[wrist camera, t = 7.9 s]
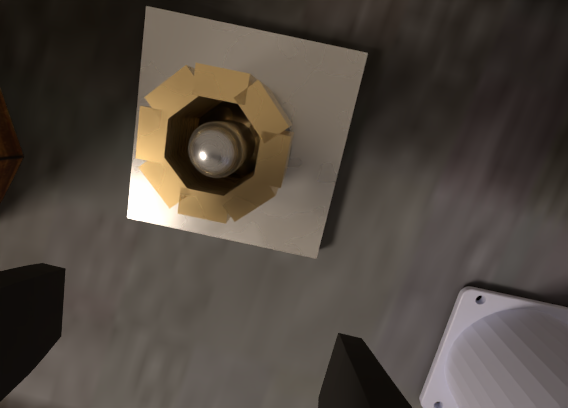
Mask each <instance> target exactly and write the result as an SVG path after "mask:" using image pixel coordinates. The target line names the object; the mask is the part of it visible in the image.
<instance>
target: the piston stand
mask: <svg viewBox="0 0 568 408" xmlns="http://www.w3.org/2000/svg"><path fill="white" fill-rule="evenodd" d="M367 55H368V53H366V52H361V51H356V50H352V49H347V48H342V47H337V46H333V45H328V44H323V43H319V42H314V41H309V40H304V39H300V38H295V37H290V36H286V35H281V34H276V33H272V32H267V31H262V30H257V29H253V28H248V27H243V26H239V25H234V24H229V23H224V22H220V21H215V20H210V19H206V18H201V17H196V16H191V15H187V14H182V13H177V12H173V11H168V10H163V9H158V8H154V7H149V6H146V12H145V23H144V35H143V46H142V57H141V68H140V79H139V90H138V101H137V113H136V124H135V135H134V146H133V157H132V168H131V179H130V191H129V202H128V213H127V218H130V219H134V220H139V221H144V222H148V223H153V224H158V225H162V226H167V227H172V228H176V229H181V230H186V231H190V232H195V233H199V234H204V235H209V236H213V237H218V238H223V239H227V240H232V241H237V242H241V243H246V244H251V245H255V246H260V247H264V248H269V249H274V250H278V251H283V252H288V253H292V254H297V255H302V256H306V257H311V258H316V259H317V255H318V251H319V247H320V243H321V239H322V235H323V231H324V227H325V223H326V219H327V215H328V211H329V207H330V203H331V199H332V195H333V191H334V187H335V183H336V179H337V175H338V171H339V167H340V163H341V159H342V155H343V151H344V147H345V143H346V139H347V135H348V131H349V127H350V123H351V119H352V115H353V111H354V107H355V103H356V99H357V95H358V91H359V87H360V83H361V79H362V75H363V71H364V67H365V63H366V59H367ZM196 63H200V64H205V65H210V66H215V67H220V68H225V69H230V70H235V71H239V72H244V73H249V74H251V75H252V76H254V77H255V78H256V79H257V80H260V81H261V82H262V83H263V84H265V85H266V86H267V87H268V88H269V89H270V90H271V92H272V93H273V95H274V96H275V98H276V99H277V101H278V103H279V104H280V106H281V107H282V109H283V110H284V112H285V113H286V115H287V117H288V118H289V120H290V121H291V123H292V124H293V125H291V126H290V127H289V128H287V129H286V131H291V132H294V135H293V140H292V145H291V150H290V155H289V160H288V165H287V170H286V174H285V177H284V180H283V183H282V186H281V188H278V191H277V194H276V196H274V197H273V198H271V199H270V200H268V201H267V202H265V203H264V204H262V205H260V206H259V207H257V208H256V209H254V210H253V211H251V212H250V213H248V214H247V215H245V216H243V217H242V218H240V219H239V220H237V221H236V222H234V221H233V219H232V218H231V217H230V219H229V220H228V222H227V223H226V224H225V223H220V222H215V221H210V220H206V219H201V218H196V217H191V216H186V215H181V214H177V213H178V204H179V203H177V204H176V205H174V206H173V207H171V208H170V209H169V207H168V206H167V205H166V203H165V202H164V201H163V199H162V198H161V197H160V195H159V194H158V193H157V191H156V190H155V189H154V187H153V186H152V185H151V184H150V182H149V181H148V180H147V178H146V177H145V176H144V174H143V173H142V172H141V170H140V169H139V168H138V167H139V166H141V165H142V164H143V163H145V162H146V161H147V160H142V159H137V158H136V146H137V134H138V122H139V110H140V106H150V104H149V103H148V102H147V100H146V99H145V98H144V97H145V96H146V95H148V94H149V93H150V92H152V91H153V90H154V89H156V88H157V87H158V86H159V85H161V84H162V83H163V82H165V81H166V80H167V79H168V78H170V77H171V76H172V75H174V74H175V73H176V72H177V71H179V70H180V69H181V68H183V67H184V66H185V65H188V66H190V67H192V68H194V69H195V64H196ZM260 139H261V137H260V136H259V134H258V133H257V131H256V130H255V129H254V127H253V126H252V124H251V123H250V121H249V120H248V118H247V117H246V115H245V114H244V112H243V111H242V109H241V108H240V106H239V105H238V104H236V103H231V102H227V101H222V102H221V103H219V104H218V105H217V106H215V107H214V108H213V109H211V110H210V111H209V112H207V113H206V114H204V115H203V116H202V117H200V118H199V123H198V128H197V129H196V130H195V131H194V132H193V134H192V135H191V137H190V140H189V144H188V153H189V158H190V160H191V162H192V164H193V165H194V167H195V168H196V169H197V170H198V171H199V172H201V173H202V174H204V175H206V176H208V177H212V178H222V177H226V176H231V177H235V178H240V179H242V178H243V177H245V176H246V175H248V174H249V173H251V172H252V171H254V170H255V167H256V162H257V156H258V150H259V145H260Z"/></svg>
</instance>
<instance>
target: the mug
mask: <svg viewBox="0 0 568 408" xmlns="http://www.w3.org/2000/svg"><path fill="white" fill-rule="evenodd" d="M23 158H24V156H23V153H22V150H21V147H20V144H19V141H18V138H17V135H16V132H15V129H14V126H13V123H12V121H11V118H10V115H9V112H8V109H7V106H6V103H5V100H4V97H3V94H2V91H1V88H0V203H1V201H2V199H3V197H4V195H5V193H6V191H7V189H8V187H9V185H10V183H11V181H12V180H13V178H14V176H15V174H16V172H17V170H18V168H19V166H20V164H21V162H22V160H23Z"/></svg>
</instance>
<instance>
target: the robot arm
mask: <svg viewBox="0 0 568 408" xmlns="http://www.w3.org/2000/svg"><path fill="white" fill-rule="evenodd" d="M64 283H65V268H61V267H57V266H52V265H48V264H44V263H40V264H34V265H28V266H23V267H18V268H13V269H8V270H4V271H0V401H1V400H2V399H4V398H5V397H6V396H7V395H8V394H9V393H10V392H11V391H12V390H13V389H14V388H15V387H16V386H17V385H18V384H19V383H20V382H21V381H22V380H23V379H24V378H25V377H26V376H27V375H29V374H30V373H31V372H32V370H33V369H34V368H35V367H36V366H37V365H38V363H39V362H40V361H41V360H42V359H43V358H44V357H45V355H46V354H47V353H48V352H49V351H50V349H51V348H52V347H53V346H54V344H55V343H56V342H57V341H58V339H59V338H60V337H61V331H62V315H63V299H64ZM478 296H482V298H481V299H480V300H478V301H475V300H476V298H477V297H478ZM419 400H420V403H421V405H422V407H423V408H568V307H564V306H560V305H555V304H550V303H546V302H541V301H536V300H532V299H527V298H522V297H518V296H513V295H508V294H504V293H499V292H495V291H490V290H485V289H481V288H476V287H471V286H467V287H464V288H463V289H461V291H460V292H459V295H458V297H457V300H456V302H455V305H454V308H453V310H452V313H451V316H450V318H449V321H448V324H447V326H446V329H445V331H444V334H443V337H442V339H441V342H440V345H439V347H438V350H437V353H436V355H435V358H434V360H433V363H432V366H431V368H430V371H429V374H428V376H427V379H426V382H425V384H424V387H423V389H422V392H421V395H420V398H419ZM435 402H439V403H435ZM318 408H412V407H411V405H410V404H409V403H408V401H407V400H406V399H405V397H404V396H403V395H402V393H401V392H400V391H399V389H398V388H397V387H396V385H395V384H394V382H393V381H392V380H391V378H390V377H389V376H388V374H387V373H386V371H385V370H384V369H383V367H382V366H381V364H380V363H379V362H378V360H377V359H376V357H375V356H374V355H373V353H372V352H371V350H370V349H369V348H368V346H367V345H366V343H365V342H364V341H363V340H362V338H358V337H353V336H349V335H345V334H341V333H338V336H337V339H336V342H335V345H334V349H333V352H332V355H331V359H330V362H329V365H328V368H327V372H326V375H325V378H324V381H323V385H322V388H321V391H320V394H319V402H318Z"/></svg>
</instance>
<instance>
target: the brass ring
mask: <svg viewBox="0 0 568 408" xmlns="http://www.w3.org/2000/svg"><path fill="white" fill-rule="evenodd" d="M144 98H145V99H146V100H147V102H148V103H149V104H150V106H140V110H139V122H138V134H137V146H136V158H137V159H142V160H147V161H146V162H145V163H143V164H142V165H141V166H139V167H138V168H139V169H140V170H141V172H142V173H143V174H144V176H145V177H146V178H147V180H148V181H149V182H150V184H151V185H152V186H153V187H154V189H155V190H156V191H157V193H158V194H159V195H160V197H161V198H162V199H163V201H164V202H165V203H166V205H167V206H168V207H169V209H170V208H171V207H173V206H174V205H176V204H177V203H179V204H178V213H177V214H181V215H186V216H191V217H196V218H201V219H206V220H210V221H215V222H220V223H225V224H226V223H227V222H228V220H229V219H230V217H231V218H232V219H233V221H234V222H236V221H237V220H239V219H240V218H242V217H243V216H245V215H247V214H248V213H250V212H251V211H253V210H254V209H256V208H257V207H259V206H260V205H262V204H264V203H265V202H267V201H268V200H270V199H271V198H273V197H274V196H276V194H277V191H278V188H281V186H282V183H283V180H284V177H285V174H286V170H287V165H288V160H289V155H290V150H291V145H292V140H293V135H294V132H291V131H286V129H287V128H289V127H290V126H291V125H293V124H292V123H291V121H290V120H289V118H288V117H287V115H286V113H285V112H284V110H283V109H282V107H281V106H280V104H279V103H278V101H277V99H276V98H275V96H274V95H273V93H272V92H271V90H270V89H269V88H268V87H267V86H266V85H265V84H263V83H262V82H261V81H260V80H257V79H256V78H255V77H254V76H252V75H251V74H249V73H244V72H239V71H235V70H230V69H225V68H220V67H215V66H210V65H205V64H200V63H196V64H195V69H194V68H192V67H190V66H188V65H185V66H184V67H183V68H181V69H180V70H179V71H177V72H176V73H175V74H174V75H172V76H171V77H170V78H168V79H167V80H166V81H165V82H163V83H162V84H161V85H159V86H158V87H157V88H156V89H154V90H153V91H152V92H150V93H149V94H148V95H146V96H145V97H144ZM222 101H227V102H231V103H236V104H238V105H239V106H240V108H241V109H242V111H243V112H244V114H245V115H246V117H247V118H248V120H249V121H250V123H251V124H252V126H253V127H254V129H255V130H256V131H257V133H258V134H259V136H260V137H261V139H260V145H259V150H258V156H257V162H256V167H255V170H254V171H252V172H251V173H249V174H248V175H246V176H245V177H243V178H242V179H240V178H235V177H231V176H226V177H222V178H212V177H208V176H206V175H204V174H202V173H201V172H199V171H198V170H197V169H196V168H195V167H194V165H193V164H192V162H191V160H190V158H189V153H188V144H189V140H190V137H191V135H192V134H193V132H194V131H195V130H196V129H197V128H198V123H199V118H200V117H202V116H203V115H204V114H206V113H207V112H209V111H210V110H211V109H213V108H214V107H215V106H217V105H218V104H219V103H221V102H222Z"/></svg>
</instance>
